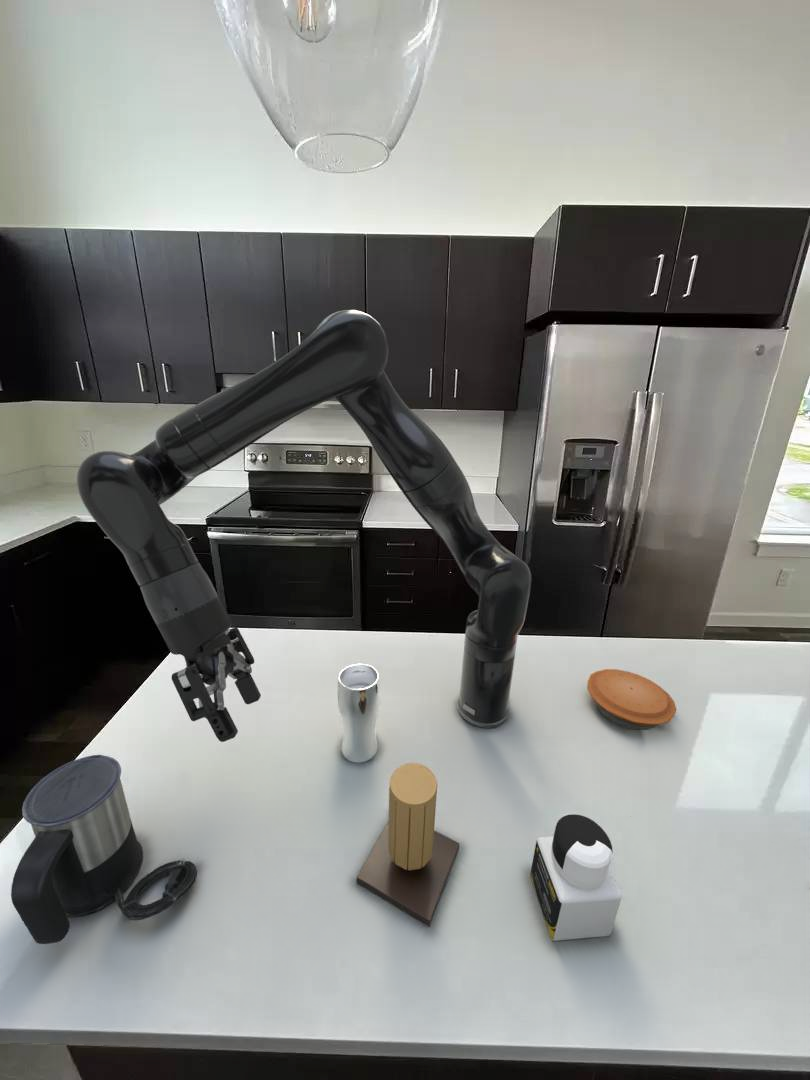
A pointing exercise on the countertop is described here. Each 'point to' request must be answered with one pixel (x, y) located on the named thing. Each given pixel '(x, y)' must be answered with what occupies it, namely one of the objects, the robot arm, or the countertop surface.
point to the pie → (630, 699)
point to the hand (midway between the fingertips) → (242, 718)
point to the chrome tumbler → (358, 710)
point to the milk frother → (85, 852)
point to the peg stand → (409, 877)
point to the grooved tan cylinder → (411, 815)
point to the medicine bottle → (575, 880)
